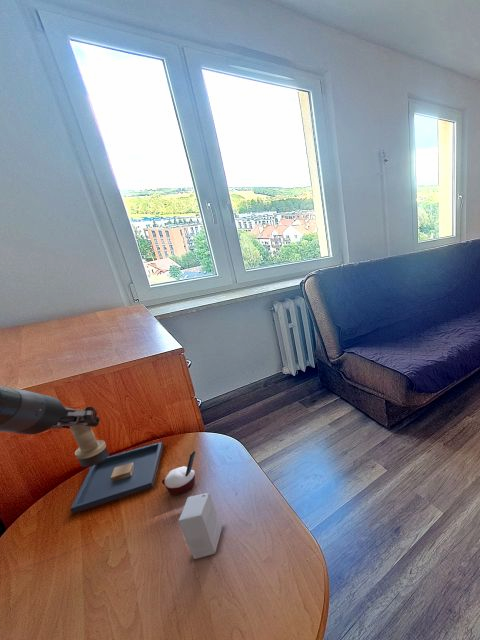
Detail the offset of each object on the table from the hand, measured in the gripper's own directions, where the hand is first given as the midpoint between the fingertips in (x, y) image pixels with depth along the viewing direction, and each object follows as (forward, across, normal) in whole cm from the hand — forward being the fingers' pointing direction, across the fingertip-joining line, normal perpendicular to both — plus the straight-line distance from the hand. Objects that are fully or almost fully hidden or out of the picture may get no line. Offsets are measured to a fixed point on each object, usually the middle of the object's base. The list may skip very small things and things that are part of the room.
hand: (87, 423), depth 78 cm
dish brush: (+5, 0, +8) cm, 9 cm away
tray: (+20, +2, +12) cm, 23 cm away
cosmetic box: (+1, -27, +30) cm, 41 cm away
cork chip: (+19, +2, +11) cm, 22 cm away
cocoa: (+14, -16, +18) cm, 28 cm away
